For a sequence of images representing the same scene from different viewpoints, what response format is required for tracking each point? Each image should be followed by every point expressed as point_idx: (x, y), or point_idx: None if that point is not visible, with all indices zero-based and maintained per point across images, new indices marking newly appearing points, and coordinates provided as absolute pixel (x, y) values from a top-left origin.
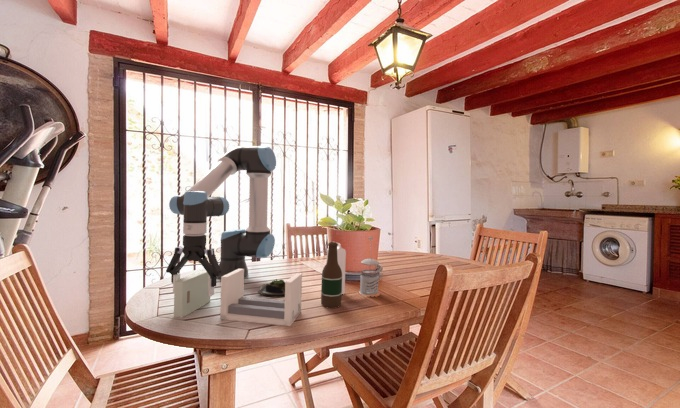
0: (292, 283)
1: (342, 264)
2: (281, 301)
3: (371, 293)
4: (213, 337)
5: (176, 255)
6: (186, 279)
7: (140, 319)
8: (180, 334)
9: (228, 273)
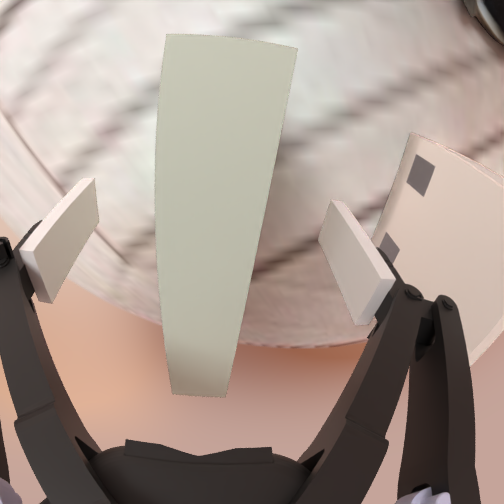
0: None
1: None
2: None
3: None
4: (359, 337)
5: (3, 462)
6: (217, 375)
7: (101, 288)
8: (280, 341)
9: (475, 349)
